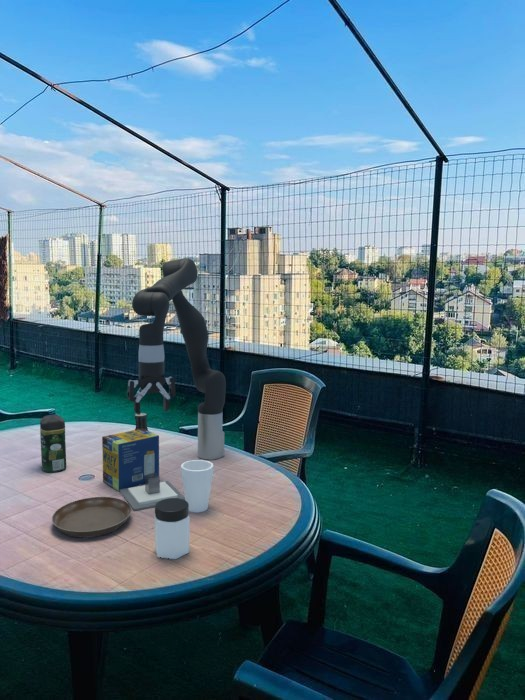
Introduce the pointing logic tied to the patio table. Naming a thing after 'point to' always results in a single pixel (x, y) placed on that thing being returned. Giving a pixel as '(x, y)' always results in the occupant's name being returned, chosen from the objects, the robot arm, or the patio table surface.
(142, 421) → the sauce bottle
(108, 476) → the protein box
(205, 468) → the foam cup
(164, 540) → the jar
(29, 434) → the patio table surface
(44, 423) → the coffee jar
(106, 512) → the plant saucer
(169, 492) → the lid
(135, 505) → the mat
